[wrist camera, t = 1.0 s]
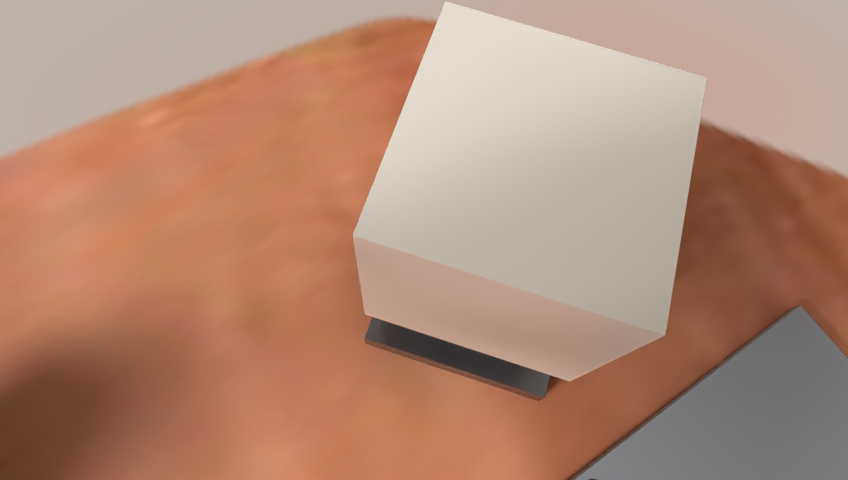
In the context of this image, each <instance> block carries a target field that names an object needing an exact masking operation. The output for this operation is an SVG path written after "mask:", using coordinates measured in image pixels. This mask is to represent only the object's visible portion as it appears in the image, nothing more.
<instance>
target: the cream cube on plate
mask: <svg viewBox="0 0 848 480" xmlns="http://www.w3.org/2000/svg"><path fill="white" fill-rule="evenodd" d="M706 81H707V77H704V76H701V75H697V74H694V73H691V72H687V71H684V70H680V69H677V68H673V67H670V66H666V65H663V64H660V63H656V62H652V61H649V60H646V59H642V58H639V57H636V56H632V55H628V54H625V53H622V52H618V51H615V50H611V49H608V48H605V47H601V46H598V45H594V44H591V43H587V42H584V41H581V40H577V39H573V38H570V37H567V36H563V35H560V34H556V33H553V32H549V31H546V30H542V29H539V28H536V27H532V26H529V25H526V24H522V23H519V22H515V21H512V20H508V19H505V18H501V17H498V16H495V15H491V14H488V13H484V12H481V11H477V10H474V9H471V8H467V7H463V6H460V5H457V4H453V3H450V2H447V1H446V2H445V4H444V6H443V9H442V11H441V14H440V16H439V19H438V21H437V24H436V26H435V29H434V31H433V34H432V36H431V39H430V41H429V44H428V46H427V49H426V51H425V54H424V56H423V59H422V61H421V64H420V67H419V69H418V72H417V74H416V77H415V79H414V82H413V84H412V87H411V89H410V92H409V94H408V97H407V99H406V102H405V104H404V107H403V109H402V112H401V114H400V117H399V120H398V122H397V125H396V127H395V130H394V132H393V135H392V137H391V140H390V142H389V145H388V147H387V150H386V152H385V155H384V157H383V160H382V162H381V165H380V167H379V170H378V173H377V175H376V178H375V180H374V183H373V185H372V188H371V190H370V193H369V195H368V198H367V200H366V203H365V205H364V208H363V210H362V213H361V215H360V218H359V220H358V223H357V225H356V228H355V231H354V233H353V241H354V248H355V254H356V261H357V267H358V274H359V280H360V287H361V293H362V300H363V306H364V313H365V315H368V316H371V317H374V318H377V319H381V320H384V321H387V322H390V323H393V324H396V325H399V326H402V327H405V328H408V329H411V330H414V331H417V332H420V333H423V334H426V335H429V336H432V337H435V338H438V339H441V340H445V341H448V342H451V343H454V344H457V345H460V346H463V347H466V348H469V349H472V350H475V351H478V352H481V353H484V354H487V355H490V356H493V357H496V358H499V359H502V360H505V361H509V362H512V363H515V364H518V365H521V366H524V367H527V368H530V369H533V370H536V371H539V372H542V373H545V374H548V375H551V376H554V377H557V378H560V379H563V380H566V381H569V382H570V381H572V380H574V379H576V378H578V377H580V376H582V375H584V374H586V373H588V372H590V371H592V370H595V369H597V368H599V367H601V366H603V365H605V364H607V363H609V362H611V361H613V360H615V359H617V358H619V357H621V356H624V355H626V354H628V353H630V352H632V351H634V350H636V349H638V348H640V347H642V346H644V345H646V344H648V343H651V342H653V341H655V340H657V339H659V338H661V337H663V336H665V334H666V328H667V322H668V316H669V309H670V303H671V297H672V291H673V285H674V279H675V272H676V266H677V260H678V254H679V248H680V242H681V235H682V229H683V223H684V217H685V211H686V204H687V198H688V192H689V186H690V180H691V174H692V167H693V161H694V155H695V149H696V143H697V137H698V130H699V124H700V118H701V112H702V106H703V100H704V93H705V87H706Z"/></svg>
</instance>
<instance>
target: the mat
mask: <svg viewBox="0 0 848 480" xmlns="http://www.w3.org/2000/svg"><path fill="white" fill-rule="evenodd" d="M592 478H593V479H597V480H848V358H847V357H846V356H845V355H844V354H843V352H842V351H841V350H840V349H839V348H838V347H837V346H836V345H835V343H834V342H833V341H832V340H831V339H830V338H829V337H828V336H827V334H826V333H825V332H824V331H823V330H822V329H821V328H820V327H819V325H818V324H817V323H816V322H815V321H814V320H813V319H812V317H811V316H810V315H809V314H808V313H807V312H806V311H805V310H804V308H803V307H802V306H801V305H800V306H797V307H795V308H792V309H791V310H789V311H788V312H787V313H785V314H784V315H783V316H782V317H780V318H779V319H778V320H776V321H775V322H774V323H772V324H771V325H770V326H769V327H767V328H766V329H765V330H763V331H762V332H761V333H759V334H758V335H757V336H756V337H754V338H753V339H752V340H750V341H749V342H748V343H746V344H745V345H744V346H743V347H741V348H740V349H739V350H737V351H736V352H735V353H733V354H732V355H731V356H730V357H728V358H727V359H726V360H724V361H723V362H722V363H720V364H719V365H718V366H717V367H715V368H714V369H713V370H711V371H710V372H709V373H707V374H706V375H705V376H704V377H702V378H701V379H700V380H698V381H697V382H696V383H694V384H693V385H692V386H691V387H689V388H688V389H687V390H685V391H684V392H683V393H681V394H680V395H679V396H678V397H676V398H675V399H674V400H672V401H671V402H670V403H668V404H667V405H666V406H665V407H663V408H662V409H661V410H659V411H658V412H657V413H655V414H654V415H653V416H652V417H650V418H649V419H648V420H646V421H645V422H644V423H642V424H641V425H640V426H639V427H637V428H636V429H635V430H633V431H632V432H631V433H629V434H628V435H627V436H626V437H624V438H623V439H622V440H620V441H619V442H618V443H616V444H615V445H614V446H613V447H611V448H610V449H609V450H607V451H606V452H605V453H603V454H602V455H601V456H600V457H598V458H597V459H596V460H594V461H593V462H592V463H590V464H589V465H588V466H587V467H585V468H584V469H583V470H581V471H580V472H579V473H577V474H576V475H575V476H574V477H572V478H571V479H570V480H588V479H592Z"/></svg>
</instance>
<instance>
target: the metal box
mask: <svg viewBox="0 0 848 480" xmlns="http://www.w3.org/2000/svg"><path fill="white" fill-rule="evenodd" d="M365 342H366V344H369V345H372V346H375V347H378V348H381V349H384V350H387V351H390V352H393V353H396V354H399V355H402V356H405V357H408V358H411V359H414V360H417V361H420V362H423V363H426V364H429V365H432V366H435V367H438V368H441V369H444V370H447V371H450V372H453V373H456V374H459V375H462V376H465V377H468V378H471V379H474V380H477V381H480V382H483V383H487V384H490V385H493V386H496V387H499V388H502V389H505V390H508V391H511V392H514V393H517V394H520V395H523V396H526V397H529V398H532V399H535V400H538V401H539V400H541V399H543V398H545V395H546V391H547V386H548V382H549V378H550V375H548V374H545V373H542V372H539V371H536V370H533V369H530V368H527V367H524V366H521V365H518V364H515V363H512V362H509V361H505V360H502V359H499V358H496V357H493V356H490V355H487V354H484V353H481V352H478V351H475V350H472V349H469V348H466V347H463V346H460V345H457V344H454V343H451V342H448V341H445V340H441V339H438V338H435V337H432V336H429V335H426V334H423V333H420V332H417V331H414V330H411V329H408V328H405V327H402V326H399V325H396V324H393V323H390V322H387V321H384V320H381V319H377V318H374V317H372V320H371V323H370V325H369V328H368V331H367V334H366V336H365Z"/></svg>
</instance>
